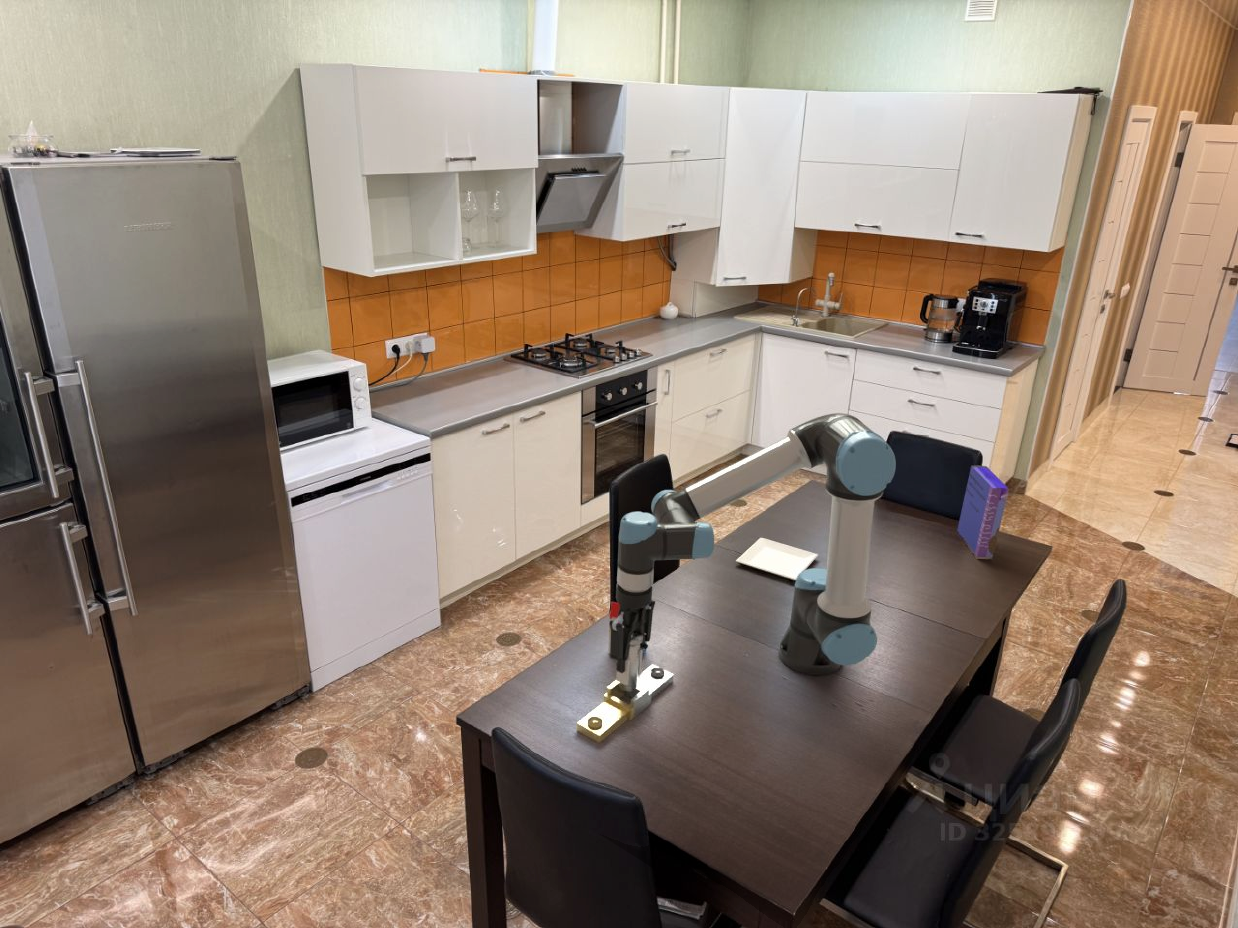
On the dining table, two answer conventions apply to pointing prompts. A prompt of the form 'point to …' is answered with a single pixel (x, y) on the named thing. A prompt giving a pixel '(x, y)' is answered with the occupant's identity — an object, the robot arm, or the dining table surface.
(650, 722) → the dining table surface
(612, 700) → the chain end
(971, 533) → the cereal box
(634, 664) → the pin
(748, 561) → the plate
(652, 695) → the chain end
